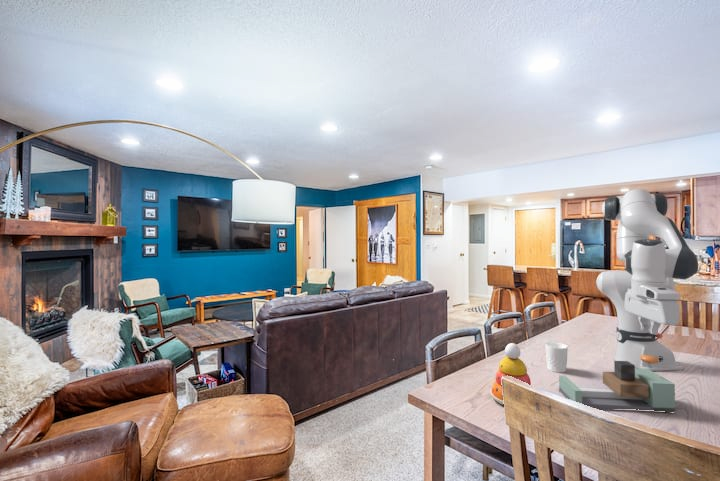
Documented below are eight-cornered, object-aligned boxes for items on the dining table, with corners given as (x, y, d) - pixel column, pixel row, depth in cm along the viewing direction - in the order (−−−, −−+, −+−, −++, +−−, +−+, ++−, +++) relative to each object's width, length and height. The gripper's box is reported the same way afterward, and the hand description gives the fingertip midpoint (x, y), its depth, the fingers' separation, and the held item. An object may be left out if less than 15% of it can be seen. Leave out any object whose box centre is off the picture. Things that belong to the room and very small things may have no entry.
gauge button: (652, 364, 111) (652, 354, 111) (662, 369, 106) (662, 359, 106) (637, 364, 111) (637, 354, 111) (646, 369, 107) (646, 359, 107)
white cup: (560, 374, 132) (559, 349, 132) (541, 368, 139) (541, 344, 139) (572, 370, 136) (571, 346, 136) (553, 364, 143) (552, 341, 143)
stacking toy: (488, 388, 122) (487, 335, 121) (532, 393, 118) (531, 337, 117) (492, 408, 108) (491, 347, 108) (541, 414, 104) (540, 351, 104)
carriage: (628, 384, 114) (628, 357, 114) (648, 398, 105) (648, 369, 104) (602, 383, 116) (602, 357, 116) (620, 396, 106) (620, 368, 106)
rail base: (647, 394, 114) (647, 368, 114) (675, 413, 103) (674, 384, 102) (559, 390, 119) (558, 365, 119) (575, 407, 107) (574, 379, 107)
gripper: (618, 285, 119) (619, 323, 120) (660, 294, 99) (661, 341, 99) (638, 285, 118) (638, 324, 119) (684, 295, 98) (685, 342, 98)
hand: (649, 332), depth 109 cm, fingers open, 2 cm apart
